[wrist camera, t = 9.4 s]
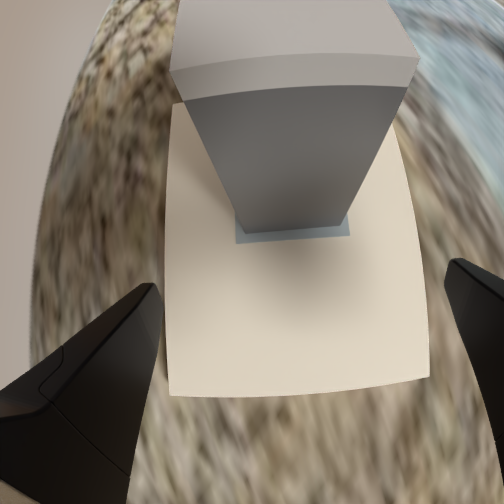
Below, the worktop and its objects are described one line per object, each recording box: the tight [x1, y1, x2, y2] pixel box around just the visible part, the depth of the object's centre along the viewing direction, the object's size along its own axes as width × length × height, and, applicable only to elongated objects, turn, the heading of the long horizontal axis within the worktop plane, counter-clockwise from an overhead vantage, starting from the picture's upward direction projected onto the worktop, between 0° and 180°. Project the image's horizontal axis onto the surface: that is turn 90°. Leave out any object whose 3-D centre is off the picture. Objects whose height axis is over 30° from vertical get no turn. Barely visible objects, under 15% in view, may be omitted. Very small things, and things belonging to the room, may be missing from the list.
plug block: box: [169, 0, 420, 234], centre depth 11 cm, size 5×5×12 cm
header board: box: [165, 102, 429, 397], centre depth 16 cm, size 18×14×5 cm
